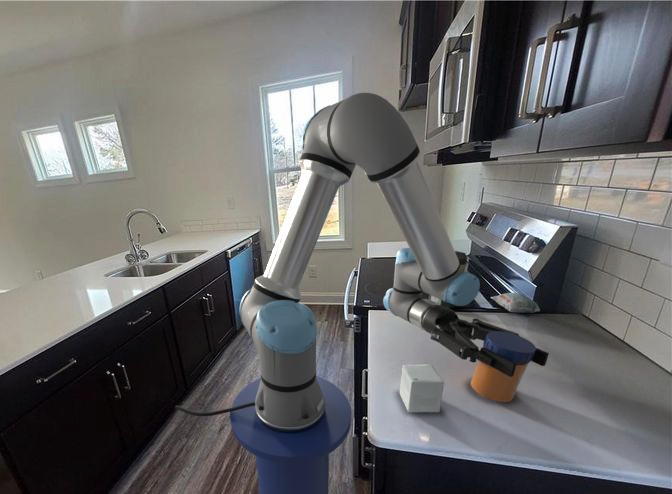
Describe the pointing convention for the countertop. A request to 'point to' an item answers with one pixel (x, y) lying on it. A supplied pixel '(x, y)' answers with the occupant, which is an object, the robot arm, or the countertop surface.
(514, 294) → the packaged food
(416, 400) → the product box
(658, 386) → the countertop surface
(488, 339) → the lid
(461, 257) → the coffee jar
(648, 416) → the countertop surface
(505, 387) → the jam jar
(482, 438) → the countertop surface
